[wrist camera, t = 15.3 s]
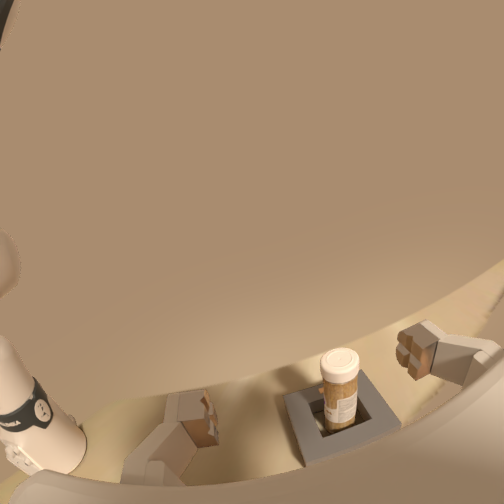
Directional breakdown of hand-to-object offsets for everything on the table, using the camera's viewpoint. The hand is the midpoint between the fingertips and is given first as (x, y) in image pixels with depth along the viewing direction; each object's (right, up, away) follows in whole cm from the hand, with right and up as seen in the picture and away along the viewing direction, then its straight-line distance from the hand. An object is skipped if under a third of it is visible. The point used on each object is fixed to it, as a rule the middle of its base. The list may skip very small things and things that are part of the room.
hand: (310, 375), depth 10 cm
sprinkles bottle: (+10, -20, +22) cm, 31 cm away
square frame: (+10, -20, +22) cm, 31 cm away
